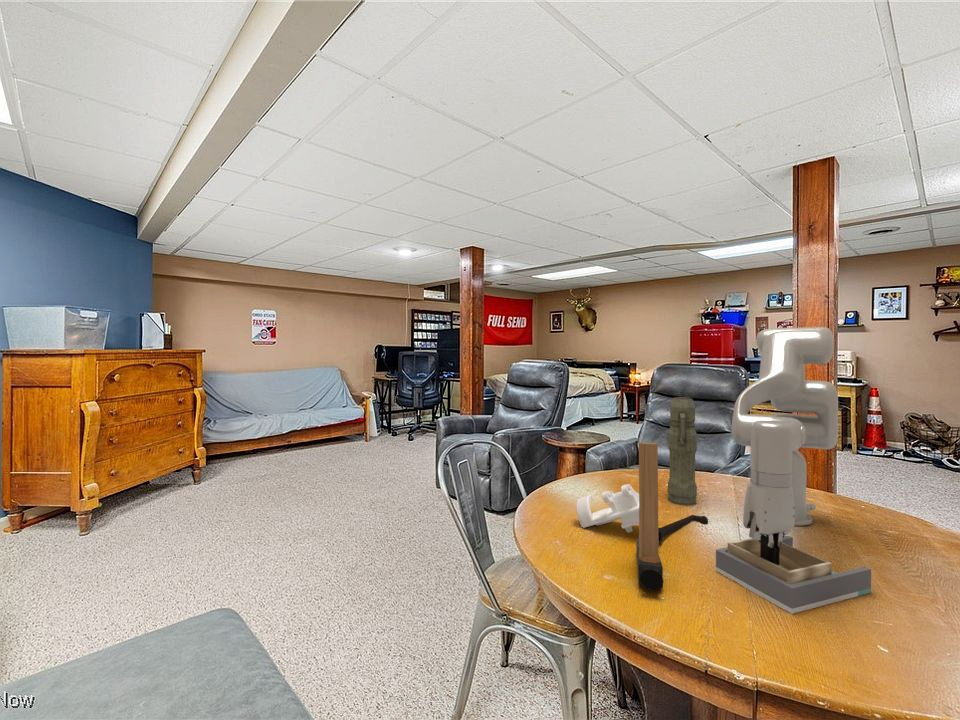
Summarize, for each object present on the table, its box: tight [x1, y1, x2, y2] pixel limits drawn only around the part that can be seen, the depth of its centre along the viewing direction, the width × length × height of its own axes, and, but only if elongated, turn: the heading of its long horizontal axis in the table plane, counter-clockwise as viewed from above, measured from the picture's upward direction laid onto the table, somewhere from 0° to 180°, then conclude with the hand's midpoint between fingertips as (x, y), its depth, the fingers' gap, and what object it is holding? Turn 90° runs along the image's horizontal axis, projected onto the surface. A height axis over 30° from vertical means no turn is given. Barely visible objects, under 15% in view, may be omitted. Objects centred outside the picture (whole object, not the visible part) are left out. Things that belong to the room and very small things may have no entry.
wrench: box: [658, 514, 709, 547], centre depth 125 cm, size 5×5×30 cm
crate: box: [726, 538, 833, 584], centre depth 98 cm, size 12×15×6 cm
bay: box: [715, 535, 872, 615], centre depth 100 cm, size 23×18×5 cm
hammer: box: [635, 441, 664, 592], centre depth 105 cm, size 20×5×30 cm, turn 162°
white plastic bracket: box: [575, 483, 639, 534], centre depth 129 cm, size 20×11×13 cm, turn 54°
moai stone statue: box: [667, 396, 698, 506], centre depth 152 cm, size 9×12×35 cm
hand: (769, 562), depth 98 cm, fingers closed
